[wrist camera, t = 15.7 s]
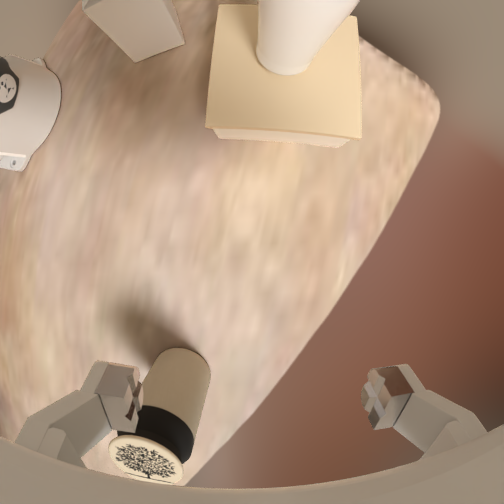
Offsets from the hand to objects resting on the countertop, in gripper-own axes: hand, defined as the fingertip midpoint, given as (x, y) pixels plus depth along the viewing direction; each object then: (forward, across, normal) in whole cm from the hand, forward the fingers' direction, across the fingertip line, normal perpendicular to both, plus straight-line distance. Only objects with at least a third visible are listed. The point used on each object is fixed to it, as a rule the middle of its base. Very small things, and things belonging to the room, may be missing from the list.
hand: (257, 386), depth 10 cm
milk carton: (+33, +13, -23) cm, 42 cm away
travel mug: (+25, +7, +22) cm, 34 cm away
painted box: (+30, -4, -15) cm, 34 cm away
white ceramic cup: (+22, -3, -17) cm, 28 cm away
